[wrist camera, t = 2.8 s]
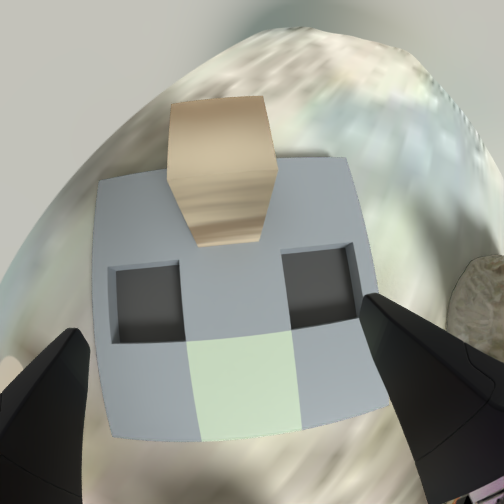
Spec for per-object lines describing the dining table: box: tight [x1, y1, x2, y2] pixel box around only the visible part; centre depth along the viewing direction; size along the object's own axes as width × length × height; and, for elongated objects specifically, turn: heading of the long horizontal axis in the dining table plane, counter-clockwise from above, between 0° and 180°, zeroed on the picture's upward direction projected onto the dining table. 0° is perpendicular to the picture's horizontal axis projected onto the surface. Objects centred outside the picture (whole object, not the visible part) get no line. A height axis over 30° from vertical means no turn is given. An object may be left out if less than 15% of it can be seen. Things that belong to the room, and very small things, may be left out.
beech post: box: [167, 96, 278, 248], centre depth 16 cm, size 4×4×10 cm
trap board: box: [92, 157, 389, 442], centre depth 20 cm, size 22×22×2 cm
